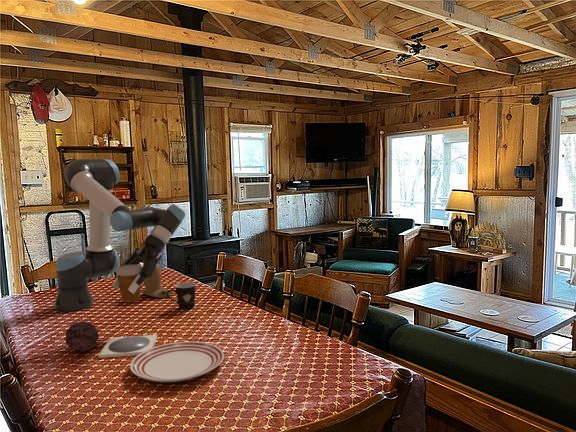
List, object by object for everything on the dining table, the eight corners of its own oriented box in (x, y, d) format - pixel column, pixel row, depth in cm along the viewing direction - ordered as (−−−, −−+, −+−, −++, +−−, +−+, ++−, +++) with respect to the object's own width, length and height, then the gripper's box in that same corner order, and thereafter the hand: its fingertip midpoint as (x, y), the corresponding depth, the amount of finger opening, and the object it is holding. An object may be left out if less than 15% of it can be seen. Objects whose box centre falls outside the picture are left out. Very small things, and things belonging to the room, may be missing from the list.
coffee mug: (199, 304, 189) (198, 282, 188) (193, 311, 180) (192, 288, 179) (173, 304, 190) (172, 282, 189) (166, 310, 182) (165, 287, 180)
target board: (98, 358, 137) (98, 354, 137) (110, 340, 151) (110, 337, 150) (150, 354, 139) (150, 350, 139) (157, 337, 153) (157, 334, 153)
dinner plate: (149, 348, 144) (149, 339, 143) (231, 348, 143) (230, 339, 143) (114, 391, 117) (113, 379, 116) (214, 391, 116) (214, 379, 115)
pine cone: (105, 356, 138) (103, 326, 137) (71, 364, 132) (69, 333, 131) (93, 339, 152) (91, 311, 151) (62, 346, 146) (60, 318, 145)
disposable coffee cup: (150, 296, 161) (148, 265, 159) (133, 304, 152) (131, 271, 151) (129, 294, 164) (127, 263, 163) (111, 301, 155) (109, 269, 154)
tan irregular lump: (135, 295, 205) (134, 264, 203) (158, 289, 213) (157, 260, 212) (151, 301, 194) (149, 269, 193) (174, 295, 203) (173, 264, 201)
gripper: (181, 248, 162) (147, 300, 151) (146, 242, 175) (112, 289, 164) (169, 236, 157) (133, 289, 146) (134, 231, 170) (98, 279, 159)
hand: (122, 289), depth 155 cm, fingers closed on disposable coffee cup, 9 cm apart
